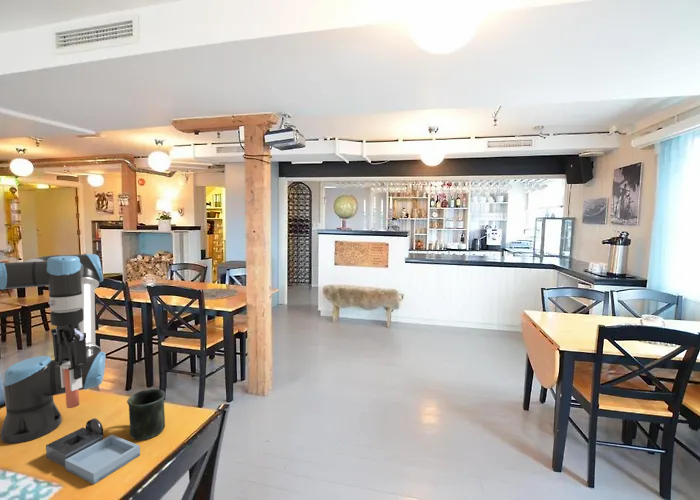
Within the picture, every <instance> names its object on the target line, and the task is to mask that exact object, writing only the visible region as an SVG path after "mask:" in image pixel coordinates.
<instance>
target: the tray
mask: <svg viewBox="0 0 700 500" xmlns="http://www.w3.org/2000/svg"><path fill="white" fill-rule="evenodd" d="M140 456H141V446H140V445H139V444H136V443H134V442H131V441H129V440H126V439H125V438H122V437H119V436H117V435H114V434H110V435H109V436H106V437H105V438H103V440H101V441H99V442H97V443H95V444H93V445H92V446H90V447H88V448H86V449H84V450H82V451H80V452H79V453H77V454H75V455H73V456H71V457H69V458H67V459H66V460H65V467H64V469H65V471H67V472H69V473H71V474H73V475H75V476H77V477H79V478H81V479H82V480H84V481H87V482H88V483H90V484H92V485H95V484H97V483H99V482H100V481H102V480H104V479H105V478H106V477H109V475H111V474H113V473H114V472H116V471H117V470H120V468H122V467H124V466H125V465H127V464H129V463H130V462H132V461H134V460H135V459H137V458H138V457H140Z"/></svg>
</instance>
